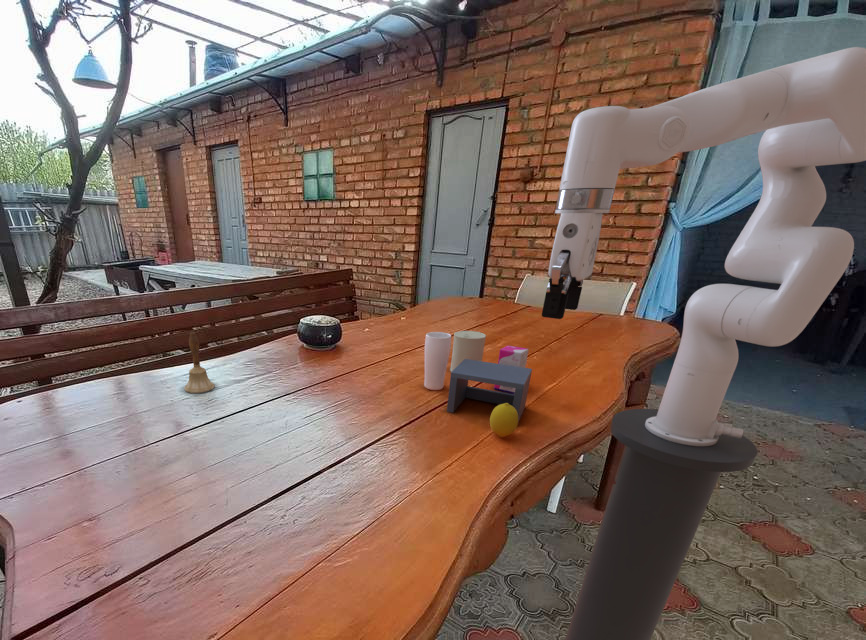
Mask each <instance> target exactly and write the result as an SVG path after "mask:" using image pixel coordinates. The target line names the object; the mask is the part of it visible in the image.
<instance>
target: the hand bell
mask: <svg viewBox="0 0 866 640" xmlns="http://www.w3.org/2000/svg"><path fill="white" fill-rule="evenodd" d="M188 346H189V350H190V352H191V355H192V362H193V367H191V368H190V369H189V371H188V380H187V383H186V384H185V385H184V387H183V388H184V389H183V390H184V392H186V393H191V394H201V393H206V392H207V393H208V392H210V391H211V390H213V389H215V387H216V386H215V383H214V382H212V381H211V380H210V378H209V377H208V373H207V370H206V368H204V367H202V366H201V362H200V356H199V354H200V341H199V338H198V336H197V334H196V332H195V331H191V332H189V338H188Z"/></svg>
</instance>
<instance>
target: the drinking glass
mask: <svg viewBox="0 0 866 640" xmlns="http://www.w3.org/2000/svg"><path fill="white" fill-rule="evenodd" d="M451 347H452V334H450V333H448V332H445V331H430V332H427V333H426V334H425V338H424V348H423V352H424V354H423V357H424V359H423V360H424V361H423V363H424V364H423V365H424V370H423V371H424V377H423V378H424V381H423V386H424V388H425V389H427V390H429V391H430V390H431V391H440V390H442V389H444V386H445V379H446V374H447V369H448V363H449V359H450V354H451Z"/></svg>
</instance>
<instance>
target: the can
mask: <svg viewBox="0 0 866 640" xmlns="http://www.w3.org/2000/svg"><path fill="white" fill-rule="evenodd" d="M486 338H487V335H486V334H485V333H483V332H480V331H474V330H459V331H455V332H454V333H453V342H452V344H453V345H452V353H451V354H452V355H451V362H450V368H449V371H450V373H451V372H452V371H453V370H454V369H455V368H456V367H457V366H458V365H459V364H460V363H461V362H462V361H463V360H464V359H469V360H476V361H483V358H484V349H485V344H486Z"/></svg>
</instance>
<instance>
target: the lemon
mask: <svg viewBox="0 0 866 640" xmlns="http://www.w3.org/2000/svg"><path fill="white" fill-rule="evenodd" d="M518 425H519V422H518V413H517V411H516V409H515V408H514V407H513V406H511V405H509V404H508V403H504V404H497V405H496V406H495V407H494V408H493V409H492V411H491V414H490V417H489V426H490V429H491V431H492V432H493V433H494V434H495V435H497V436H498V437H499V438H504V437H507V436H510V435H512V434H513V433H514V432H515V431H516V430H517V427H518Z"/></svg>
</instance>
